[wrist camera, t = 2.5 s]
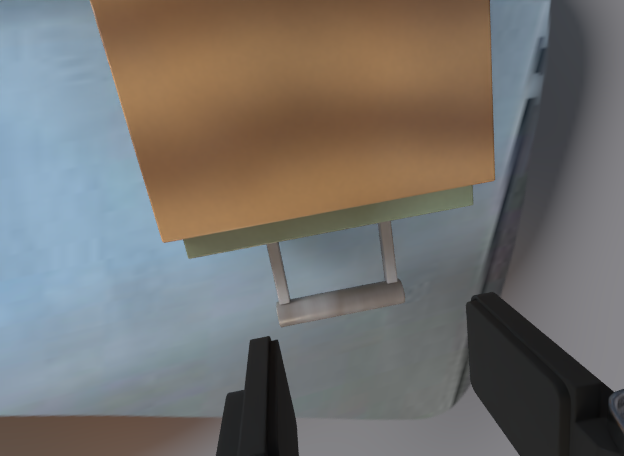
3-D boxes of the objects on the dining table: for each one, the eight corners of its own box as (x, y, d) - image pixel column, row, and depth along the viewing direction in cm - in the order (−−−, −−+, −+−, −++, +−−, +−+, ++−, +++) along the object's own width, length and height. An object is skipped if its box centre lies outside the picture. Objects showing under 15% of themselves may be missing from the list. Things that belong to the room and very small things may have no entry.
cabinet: (424, 158, 25) (496, 180, 17) (199, 199, 25) (162, 243, 17) (398, -159, 20) (480, -342, 12) (117, -116, 20) (5, -275, 12)
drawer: (429, 263, 26) (479, 312, 20) (232, 301, 26) (218, 364, 19) (396, -114, 20) (454, -221, 14) (136, -73, 20) (68, -163, 13)
